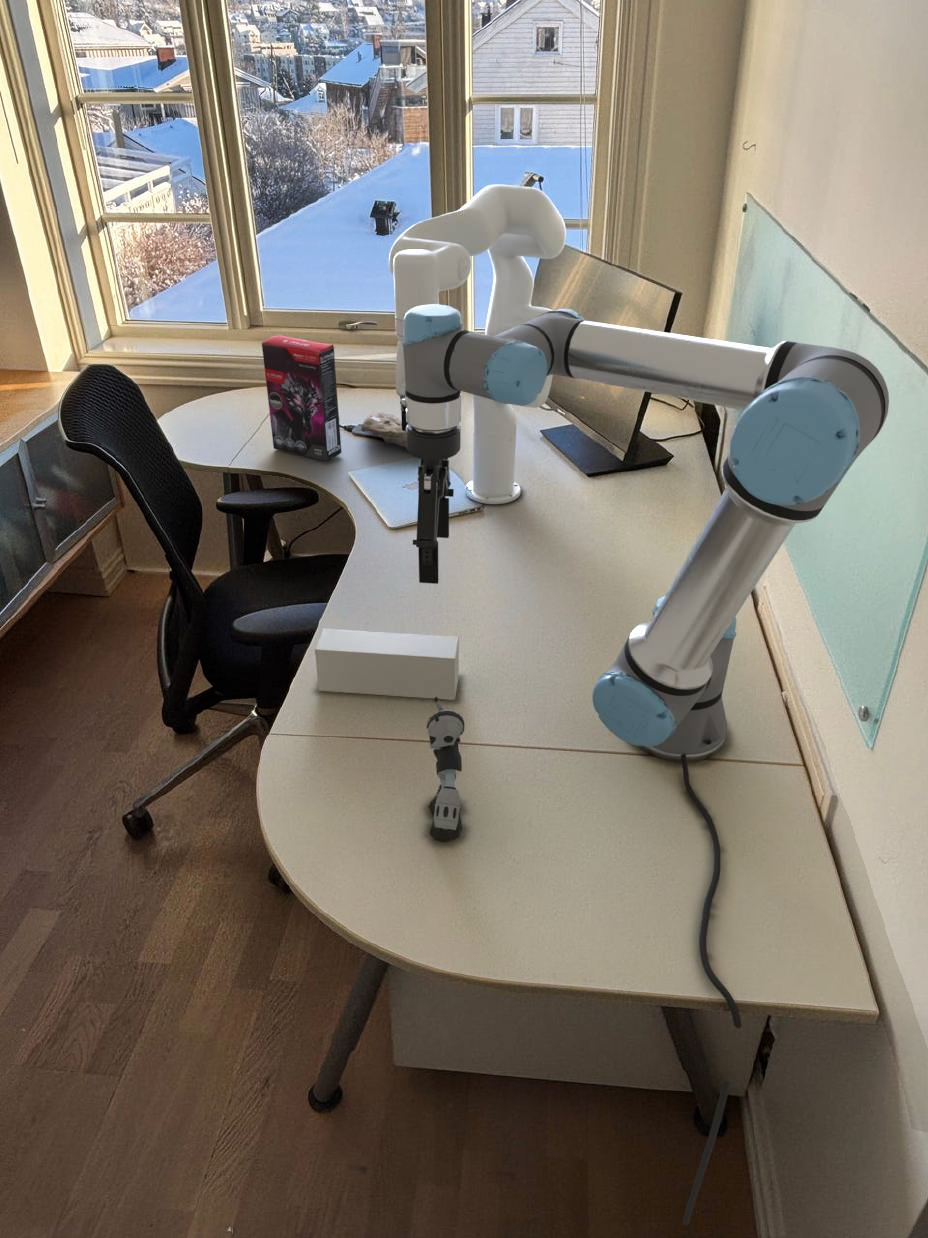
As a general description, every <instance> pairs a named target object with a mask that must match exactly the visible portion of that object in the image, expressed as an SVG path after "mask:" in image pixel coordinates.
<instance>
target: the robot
mask: <svg viewBox="0 0 928 1238" xmlns="http://www.w3.org/2000/svg"><path fill="white" fill-rule="evenodd" d="M433 701H434V703H435V706H436V708H437V712H434V713H433V714H432V715H430V717H429V718H428V720H427V722H426V724H425V727H426V734H427V735H428V738H429V747H430V749H432V753H433V755H434V757H435V759H436V762H435V769H436V775H437V777H438V778H439V783H440V784H439V785H438V789H437V792H436V795H434V797H433V798H432V799H431V801H430V802H429V804H428V809H429V811H430V814H431V815H432V816H433V821H432V824H431V826H430V829H429V832H428V834H429V835H430V836H431V837H432V838H433V839H434V840H435V841H439V842H449V841H452V840H454V839H457V838H459V837H460V835H461V832H462V831H463V827H462V826H463V825H462V817H461V815H460V812H461V810H462V808H461V797H460V793H459V792H460V791H459V790H458V789H457V787H456V781H457V772H462V770H463V766H462V765H463V761H462V755H461V752H460V747H459V743H460V742H461V737H460V736H461V735H463V733H464V732H465V720H464V717H462V715H461V714H460V713H458V712H457V711H454V710H451V709H445V708H444V707H443V705H442V703H441V702H440V699H438V698H437V697H435V698H434V699H433Z"/></svg>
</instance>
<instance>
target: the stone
mask: <svg viewBox="0 0 928 1238" xmlns="http://www.w3.org/2000/svg"><path fill="white" fill-rule="evenodd" d="M360 430H361V432H363V433H365V432H371V433H373V435H374V436H376V437H378V438H382V439H383V441H384V442H385V443H388V444H392V443H394V444H395V445H398V446H400V447H404V448H406V449H407V447H406V431H403V430H402V419H399V417H397V416H396V417H395V416H394V415H393V414H388V413H384V412H379V413H377V414H369V415H368V416H366V419H365V420H364V421H363V423H362V425H361V427H360Z"/></svg>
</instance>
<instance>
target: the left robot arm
mask: <svg viewBox="0 0 928 1238" xmlns="http://www.w3.org/2000/svg"><path fill="white" fill-rule="evenodd" d="M566 240H567V228H566V224H565V221H564V218H563V216H562V214H561V213H560V211H559V210H558V209H557V207H556V205H555V204H554V202H553V201H552V199H551V198H550V197H549V196H548V195H547V194H546V193H545V192H544V191H543V190H541V189H539V188H537V187H534V186H523V185H511V184H497V183H496V184H489V185H486V186H485V187H483V188H482V189H481V190H480V191H479V192H477V193H476V194H475V195H474V196H473V197H472V198H471V199H469V200H468V201H467V203H465V204H464V205H463V206H461V208H460V209H458V210H455V211H451V212H450V211H449V212H447V213H444V214H441V215H438V216H434V217H430V218H428V219H424V220H422V221H419V222H417V223H415V224H413V225H411V226H410V227H409V228H407V229H406V230H405V231H404V232H403V233H401V234H400V235H399V236H398V238H397V239H396V240H395V241H394V243H393V244H392V246H391V248H390V251H389V255H388V267H389V271H390V274H391V275H392V277H393V290H394V291H393V294H394V296H393V297H394V321H395V322H394V323H395V325H394V326H395V337H396V338H397V340H398V341H397V346H396V358H395V359H396V361H395V393H396V395H397V396H399V399H400V402H399V404H400V412H401V413H400V414H401V417H400V418H401V421H402V430H403V431H406V426H407V425H408V423H407V422H406V409H407V406H402V405H401V401H402V399H406V398H405V397H406V395H405V387H406V385H405V368H404V353H403V345H402V343H403V335H404V317H405V315H406V313H407V312H408V311H409V310H410V309H412V308H415V307H417V306H422V305H433V304H435V305H440V292H443V291H450V290H454V289H457V288H459V287H461V286H462V285H463V284H465V282H467V279H468V278H469V276H470V274H471V271H472V259H471V257H475V256H478V255H481V254H483V253H485V252H486V251H487V252H488V255H489V259H490V262H491V265H492V271H493V281H492V282H493V283H492V289H491V290H492V291H491V295H490V299H489V300H490V301H489V306H488V312H487V317H486V323H485V332H484V333H485V334H484V335H489V336H496V335H498V334H500V333H503V332H505V331H507V330H510V329H512V328H514V327H517V326H519V325H521V324H524V323H526V322H528V321H530V320H533V319H535V318H537V317H538V316H540V315H542V314H543V313H547V312H549V311H554V310H553V309H551V308H548V307H544V306H543V307H542V306H536V305H535V306H534V305H532V300H533V299H532V298H533V292H534V288H535V280H534V275H533V273H532V270H531V268H530V265H529V264H528V262H527V260H526V259H525V258H534V259H541V260H542V259H543V260H552V259H555V258H557V257H558V256H559V255H560V254H562V251H563V249H564V247H565V245H566ZM553 377H554V375H549V376H547V377H546V381H545V384H544V387H543V389H542V391H541V393H539V394H538V395H537V398H536V400H535V401H533V402H532V403H531V404H528V405H525V406H522V407H525V408H530V409H538V408H540V407H542V406H543V405H544V404H545V403H546V402H547V400H548V398H549V395H550V392H551V386H552V383H553ZM471 400H472V409H473V410H472V411H473V414H472V415H473V416H472V417H473V418H472V419H473V420H472V421H473V422H472V423H473V424H472V430H473V431H472V480H470V481H469V482H467V484H466V485H465V487H466V486H467V487H468V489H469V491H470V490H471V492H472V494H473V495H474V497H476V498H474V497H472V496H471V495H469V494H468V493H467V491H466V490H465V494H466V496H467V497H468V498H469V499H471V500H472V501H475V502H477V503H480V504H487V505H501V504H502V505H503V504H507V503H511V502H513V501H516V499H518V498H519V497H520V496H521V486H520V485H519V484H518V482H516V481H515V472H516V471H515V469H516V466H515V465H516V447H517V446H516V443H517V416H516V414H515V411H514V409H513V407H512V405H513V404H503V403H499V402H497V401H494V400H491V399H488V398H484V397H481V396H477V395H474V394H471ZM513 406H514V405H513ZM517 406H518V407H520V406H519V405H517Z"/></svg>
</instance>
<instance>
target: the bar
mask: <svg viewBox="0 0 928 1238" xmlns="http://www.w3.org/2000/svg"><path fill="white" fill-rule="evenodd" d="M459 646H460V637H459V636H446V635H432V634H417V633H415V634H414V633H401V632H400V633H398V632H383V631H368V630H367V631H366V630H353V629H351V630H350V629H335V628H322V630H321V633H320V635H319V638H318V641H317V643H316V645H315V648H314V655H315V665H316V677H317V683H318V684H317V685H318V691H319V692H331V693H345V694H347V693H348V694H362V695H375V696H376V695H377V696H379V695H380V696H391V697H392V696H393V697H406V698H418V699H419V698H420V699H432V700H434V698H435V697H437V698H438V700H447V701H448V700H449V701H455V700H456V695H457V690H458V683H459V678H460V676H459V674H460V673H459V671H460V668H459V667H460V663H459V662H460V661H459V660H460V647H459Z"/></svg>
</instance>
